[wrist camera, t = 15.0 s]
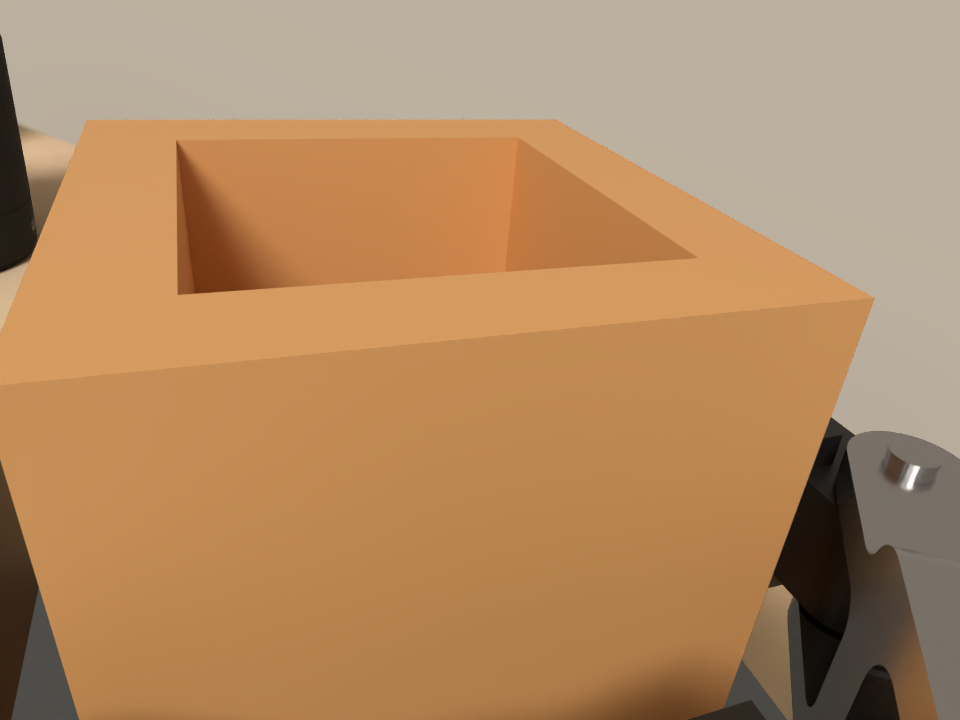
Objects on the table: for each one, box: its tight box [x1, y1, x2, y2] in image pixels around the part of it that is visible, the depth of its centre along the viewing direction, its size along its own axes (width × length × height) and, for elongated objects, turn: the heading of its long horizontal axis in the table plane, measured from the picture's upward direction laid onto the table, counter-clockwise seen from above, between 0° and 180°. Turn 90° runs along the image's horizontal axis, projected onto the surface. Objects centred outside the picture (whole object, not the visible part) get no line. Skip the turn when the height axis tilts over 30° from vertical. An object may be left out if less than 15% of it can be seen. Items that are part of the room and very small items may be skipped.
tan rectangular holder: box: [0, 120, 874, 720], centre depth 10 cm, size 6×6×12 cm
